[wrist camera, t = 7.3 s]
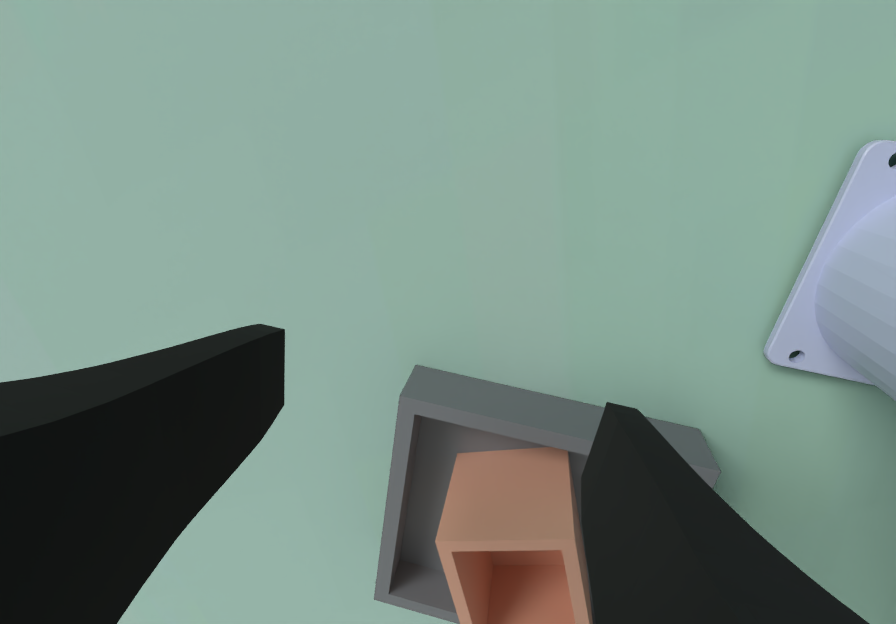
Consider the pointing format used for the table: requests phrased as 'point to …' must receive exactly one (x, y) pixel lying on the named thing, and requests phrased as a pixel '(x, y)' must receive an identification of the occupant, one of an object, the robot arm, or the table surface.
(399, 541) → the big crate
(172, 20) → the table surface
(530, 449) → the small crate
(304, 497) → the table surface
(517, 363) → the table surface
